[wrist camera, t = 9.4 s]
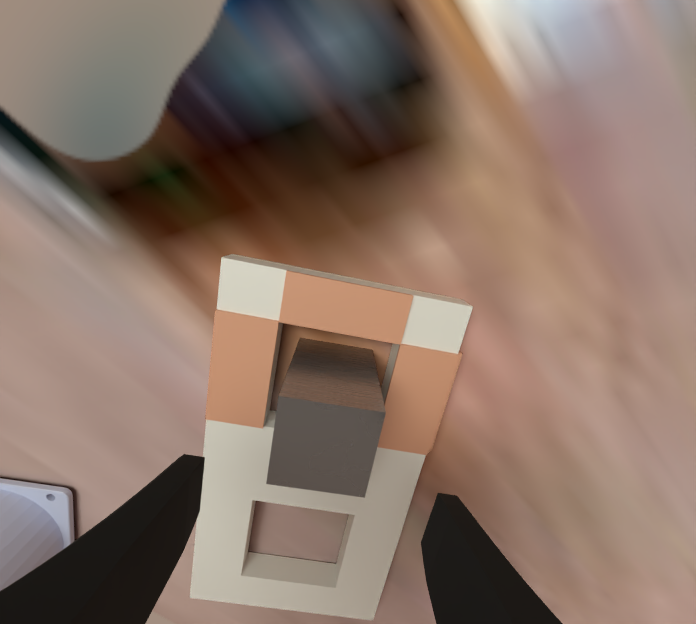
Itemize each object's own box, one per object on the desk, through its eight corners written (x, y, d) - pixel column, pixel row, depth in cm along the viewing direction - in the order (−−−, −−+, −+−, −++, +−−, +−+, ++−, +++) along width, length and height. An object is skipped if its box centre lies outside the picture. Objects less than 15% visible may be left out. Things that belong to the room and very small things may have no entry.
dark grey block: (290, 401, 19) (266, 484, 13) (299, 337, 18) (278, 395, 12) (358, 412, 19) (364, 497, 13) (372, 349, 18) (385, 412, 12)
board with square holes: (199, 572, 22) (188, 601, 20) (232, 253, 16) (219, 257, 15) (375, 595, 23) (377, 624, 21) (467, 300, 17) (480, 309, 15)
